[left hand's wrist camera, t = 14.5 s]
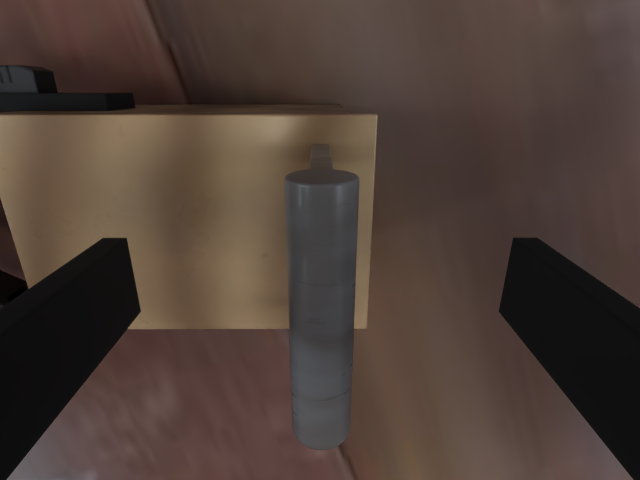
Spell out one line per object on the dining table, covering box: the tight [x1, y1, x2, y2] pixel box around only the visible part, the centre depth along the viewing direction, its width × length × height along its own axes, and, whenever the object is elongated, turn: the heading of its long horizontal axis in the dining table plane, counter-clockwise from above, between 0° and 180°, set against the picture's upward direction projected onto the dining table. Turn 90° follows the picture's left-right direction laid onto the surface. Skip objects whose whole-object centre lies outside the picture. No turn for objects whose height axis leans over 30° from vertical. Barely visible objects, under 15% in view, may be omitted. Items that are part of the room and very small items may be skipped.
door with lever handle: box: [0, 113, 378, 450], centre depth 14 cm, size 16×10×9 cm, turn 90°
